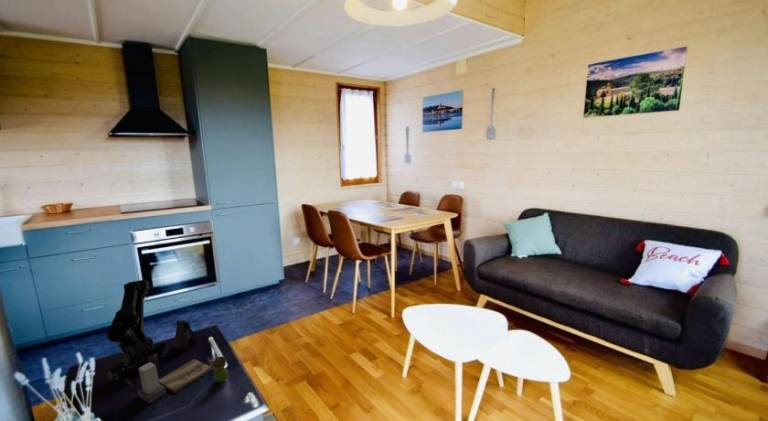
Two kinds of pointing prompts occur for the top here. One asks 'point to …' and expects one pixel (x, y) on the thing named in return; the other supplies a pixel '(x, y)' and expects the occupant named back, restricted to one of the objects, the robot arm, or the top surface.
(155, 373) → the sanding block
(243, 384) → the top surface
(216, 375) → the snail figurine
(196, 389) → the top surface
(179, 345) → the door stopper
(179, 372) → the oak board
